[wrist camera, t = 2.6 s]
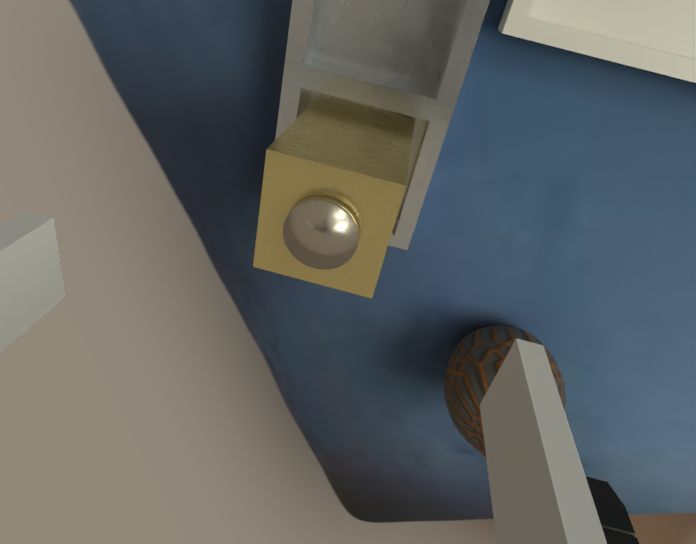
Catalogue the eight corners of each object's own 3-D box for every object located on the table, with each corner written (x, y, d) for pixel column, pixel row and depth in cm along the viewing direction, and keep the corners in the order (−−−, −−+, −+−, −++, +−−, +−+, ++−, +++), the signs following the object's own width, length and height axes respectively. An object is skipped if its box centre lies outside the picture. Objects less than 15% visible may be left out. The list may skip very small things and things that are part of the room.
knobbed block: (319, 95, 24) (261, 154, 16) (414, 119, 24) (405, 192, 15) (304, 184, 26) (248, 274, 18) (389, 207, 26) (370, 307, 18)
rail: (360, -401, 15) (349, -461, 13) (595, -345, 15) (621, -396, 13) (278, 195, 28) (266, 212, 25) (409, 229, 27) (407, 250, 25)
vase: (426, 365, 33) (424, 476, 26) (472, 292, 29) (485, 398, 22) (515, 398, 33) (538, 517, 26) (572, 331, 29) (618, 447, 22)
